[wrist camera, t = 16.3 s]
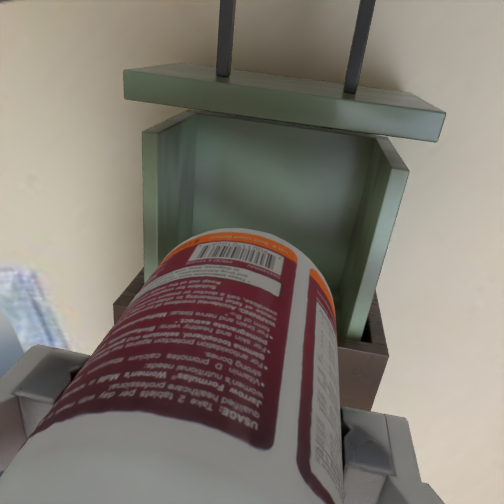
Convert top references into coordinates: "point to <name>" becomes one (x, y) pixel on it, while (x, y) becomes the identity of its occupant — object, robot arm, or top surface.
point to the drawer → (280, 162)
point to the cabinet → (349, 353)
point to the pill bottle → (201, 389)
